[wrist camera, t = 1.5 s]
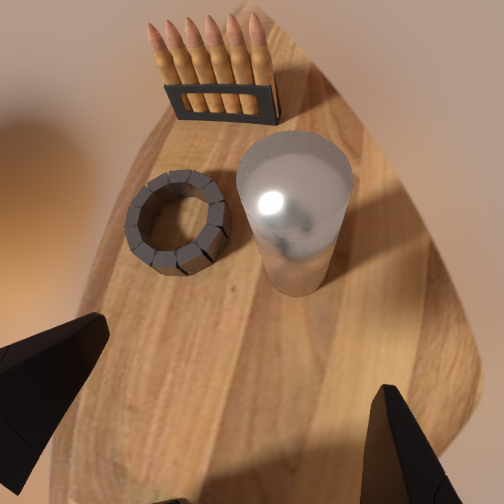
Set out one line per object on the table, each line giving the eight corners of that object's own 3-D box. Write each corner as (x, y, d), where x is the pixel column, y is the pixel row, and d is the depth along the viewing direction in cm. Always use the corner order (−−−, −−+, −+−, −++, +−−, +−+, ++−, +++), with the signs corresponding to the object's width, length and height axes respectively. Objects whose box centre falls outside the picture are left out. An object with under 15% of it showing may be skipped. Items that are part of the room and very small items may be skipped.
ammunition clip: (281, 112, 28) (269, 8, 17) (278, 126, 28) (263, 18, 16) (183, 107, 30) (144, 20, 19) (177, 119, 30) (134, 31, 19)
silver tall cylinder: (284, 307, 22) (270, 250, 10) (257, 257, 24) (218, 159, 12) (337, 278, 22) (375, 194, 11) (307, 230, 24) (312, 116, 12)
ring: (156, 293, 24) (142, 286, 21) (129, 214, 27) (115, 201, 24) (247, 245, 24) (242, 232, 22) (207, 170, 27) (199, 154, 25)
